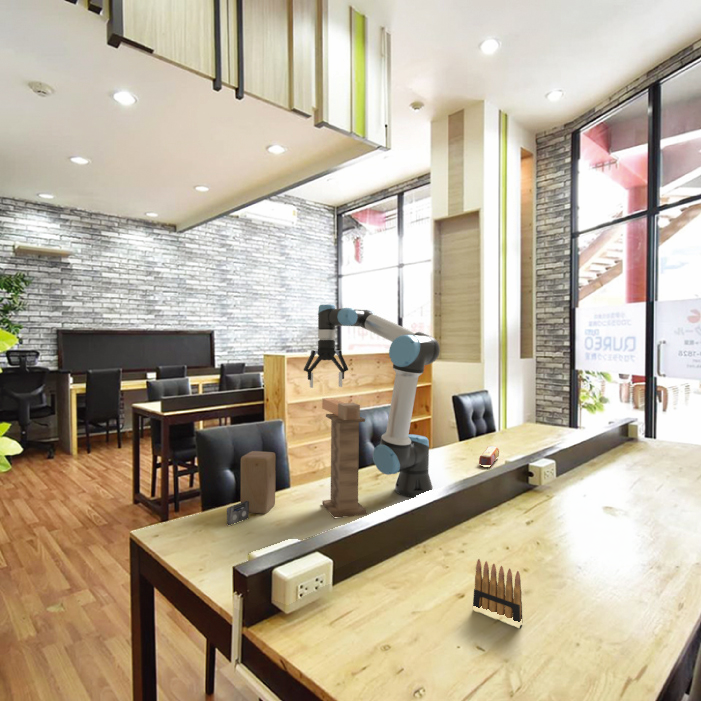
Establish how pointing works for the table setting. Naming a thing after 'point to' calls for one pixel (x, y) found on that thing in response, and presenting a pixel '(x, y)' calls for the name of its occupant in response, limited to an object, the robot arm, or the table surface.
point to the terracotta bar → (341, 409)
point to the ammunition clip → (498, 592)
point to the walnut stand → (344, 468)
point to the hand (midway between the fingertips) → (326, 387)
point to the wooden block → (258, 481)
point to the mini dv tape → (238, 512)
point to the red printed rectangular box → (489, 456)
